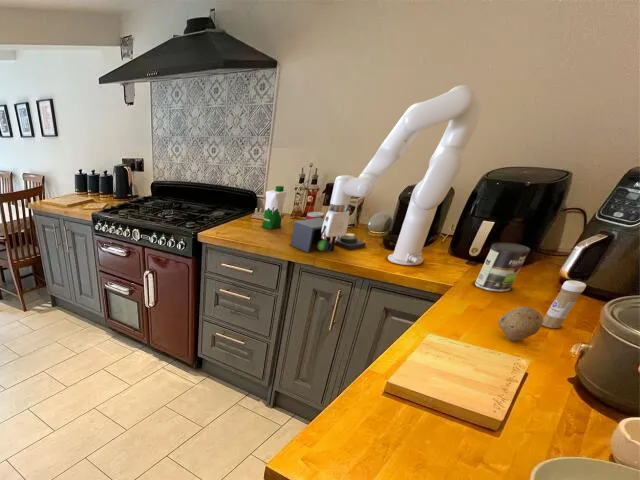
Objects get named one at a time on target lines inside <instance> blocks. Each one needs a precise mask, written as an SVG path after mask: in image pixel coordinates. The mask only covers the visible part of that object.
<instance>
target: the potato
mask: <svg viewBox="0 0 640 480" xmlns="http://www.w3.org/2000/svg"><path fill="white" fill-rule="evenodd" d="M543 319H544V317H543V315H542V313H541V312H540V311H539V310H537V309H535V308H533V307H530V306H519V307H515V308H513V309H511V310H509V311H508V312H505V314H503V315H502V316H500V317H499V319H498V321H497V325H498V327H499V328H500V329H501V331H502V332H503V334H504V335H505V337H506V338H507V339H508V340H510V341H512V342H519V341H524V340H525V339H528V338H530V337H531V336H533V335H535V334H537V333H538V332H539V331H540V329H541V328H542V326H543V325H542V323H543Z"/></svg>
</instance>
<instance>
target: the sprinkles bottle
mask: <svg viewBox="0 0 640 480" xmlns="http://www.w3.org/2000/svg"><path fill="white" fill-rule="evenodd" d="M586 287H587V284H586V283H584V282H582V281H579V280H572V279H570V280H566V281H564V282H563V284H562V286H561V289H560V291H559V292H558V294H557V296H556V297H555V298H554V301H553V302H552V304H551V305H550V306H549V308H548V310H547V312H546V314H545V315H544V317H543V323H542V326H544V327H546V328H550V329H560V328H561V327H562V324H563V322H564V321H565V320H566V319H567V317H568V315H569V314H570V311H571V310H572V309H573V307H574V305H575V304H576V302H577V300H578V299H579V298H580V296H581V294H582V293H583V292H584V291H585V289H586Z"/></svg>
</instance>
